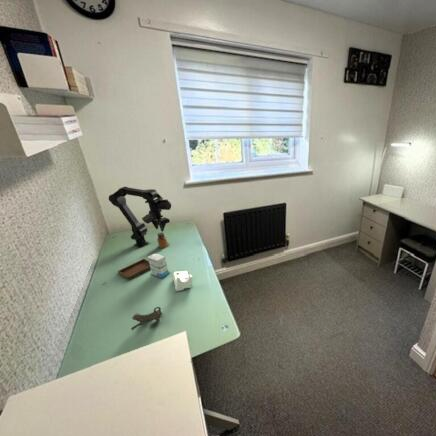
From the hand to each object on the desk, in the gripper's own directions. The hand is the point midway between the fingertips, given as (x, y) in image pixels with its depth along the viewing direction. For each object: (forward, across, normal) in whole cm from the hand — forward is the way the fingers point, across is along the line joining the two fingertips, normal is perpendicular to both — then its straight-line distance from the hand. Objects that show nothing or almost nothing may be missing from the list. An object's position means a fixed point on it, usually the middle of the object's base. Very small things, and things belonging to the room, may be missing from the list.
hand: (159, 230), depth 161 cm
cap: (+3, 0, 0) cm, 3 cm away
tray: (+12, +13, -25) cm, 31 cm away
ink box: (+13, +28, -20) cm, 37 cm away
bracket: (+13, +46, -18) cm, 51 cm away
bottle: (+12, 0, 0) cm, 12 cm away
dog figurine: (+13, +57, -44) cm, 73 cm away
